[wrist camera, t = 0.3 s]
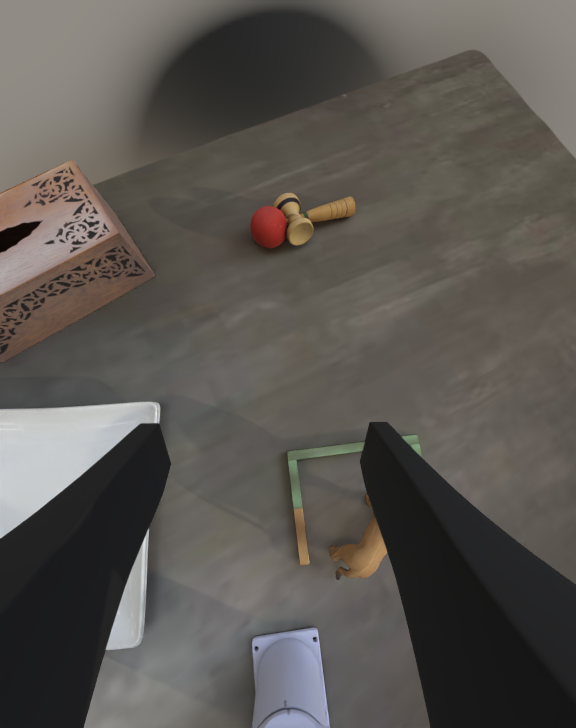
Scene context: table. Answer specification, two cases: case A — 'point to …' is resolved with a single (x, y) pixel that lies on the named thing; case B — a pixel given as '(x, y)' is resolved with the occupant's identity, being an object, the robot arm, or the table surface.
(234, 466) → the table surface
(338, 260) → the table surface
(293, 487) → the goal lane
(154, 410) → the square plate
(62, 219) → the tissue box cover
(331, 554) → the lion figurine
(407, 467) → the robot arm
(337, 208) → the kendama
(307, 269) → the table surface
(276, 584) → the table surface
